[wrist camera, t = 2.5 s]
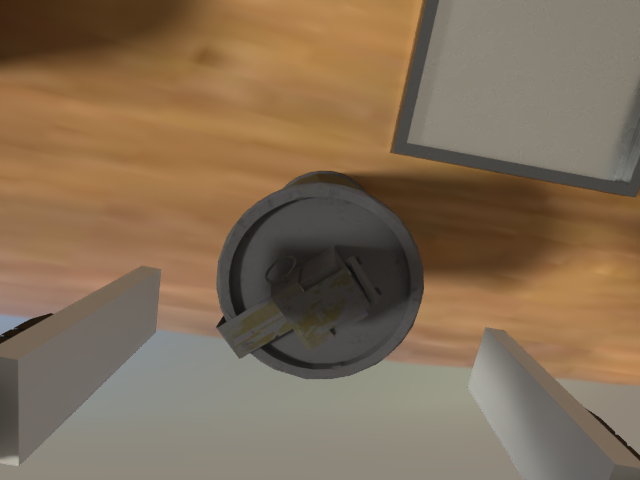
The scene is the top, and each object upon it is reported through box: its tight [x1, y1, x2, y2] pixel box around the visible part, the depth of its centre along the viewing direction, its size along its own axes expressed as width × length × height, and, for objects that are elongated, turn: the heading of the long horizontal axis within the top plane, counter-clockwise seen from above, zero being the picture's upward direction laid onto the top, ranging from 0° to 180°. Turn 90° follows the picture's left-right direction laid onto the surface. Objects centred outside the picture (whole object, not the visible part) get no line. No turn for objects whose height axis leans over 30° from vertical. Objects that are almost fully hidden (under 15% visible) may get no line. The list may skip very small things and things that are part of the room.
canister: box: [216, 171, 424, 379], centre depth 25 cm, size 11×10×20 cm
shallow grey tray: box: [389, 0, 640, 197], centre depth 30 cm, size 22×22×2 cm
